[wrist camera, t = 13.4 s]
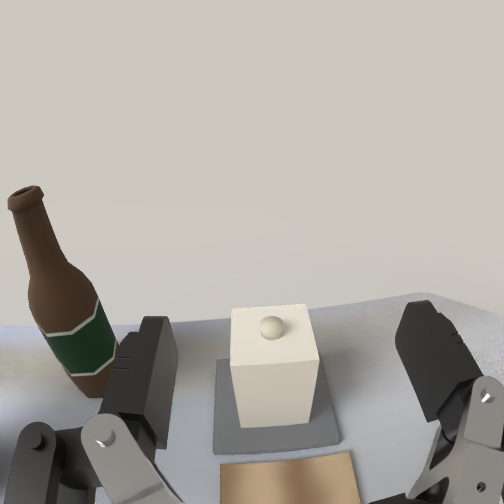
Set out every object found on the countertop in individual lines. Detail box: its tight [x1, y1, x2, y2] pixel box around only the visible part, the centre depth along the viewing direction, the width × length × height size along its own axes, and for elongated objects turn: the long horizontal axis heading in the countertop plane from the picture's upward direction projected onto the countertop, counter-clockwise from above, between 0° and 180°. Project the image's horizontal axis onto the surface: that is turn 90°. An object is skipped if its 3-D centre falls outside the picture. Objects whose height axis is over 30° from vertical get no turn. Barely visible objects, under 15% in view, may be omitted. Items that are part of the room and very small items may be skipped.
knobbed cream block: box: [230, 304, 320, 428], centre depth 27 cm, size 7×7×11 cm
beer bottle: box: [8, 186, 119, 398], centre depth 27 cm, size 8×8×24 cm
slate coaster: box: [213, 352, 340, 454], centre depth 30 cm, size 12×12×1 cm
